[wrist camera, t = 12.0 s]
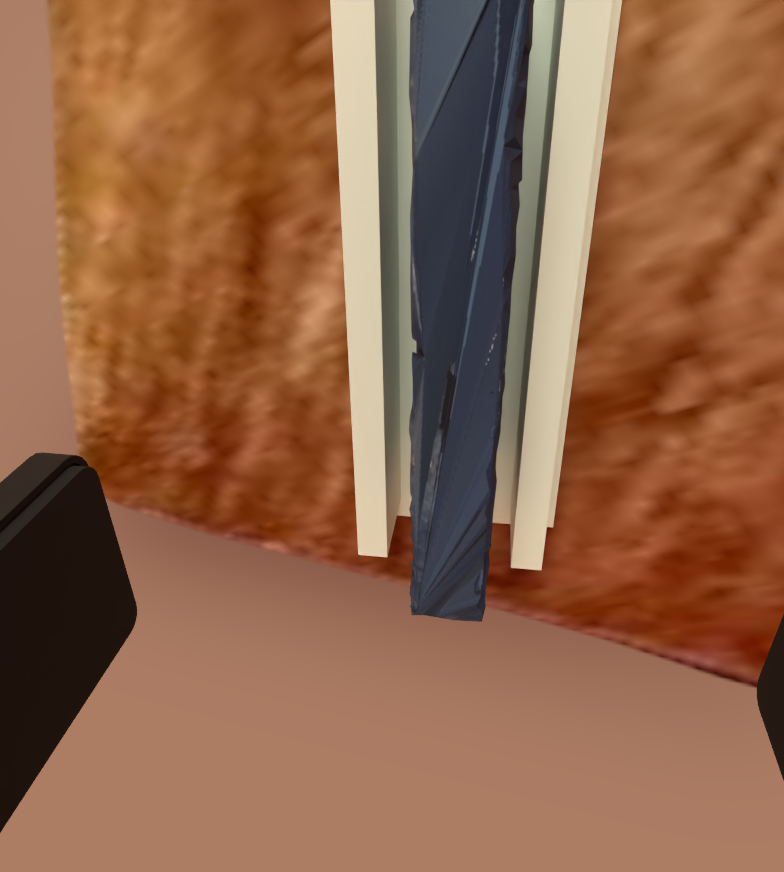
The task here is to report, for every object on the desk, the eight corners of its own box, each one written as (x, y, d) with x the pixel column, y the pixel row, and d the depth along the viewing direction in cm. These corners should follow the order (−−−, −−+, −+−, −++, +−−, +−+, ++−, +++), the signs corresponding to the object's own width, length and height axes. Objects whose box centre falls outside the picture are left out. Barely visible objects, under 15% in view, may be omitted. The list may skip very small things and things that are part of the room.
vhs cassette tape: (489, 460, 29) (483, 628, 21) (422, 454, 30) (389, 617, 21) (544, -57, 20) (573, -134, 12) (446, -57, 21) (404, -131, 12)
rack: (643, -199, 19) (684, -271, 15) (552, 516, 31) (559, 590, 27) (331, -180, 20) (285, -241, 16) (362, 502, 33) (340, 571, 28)
